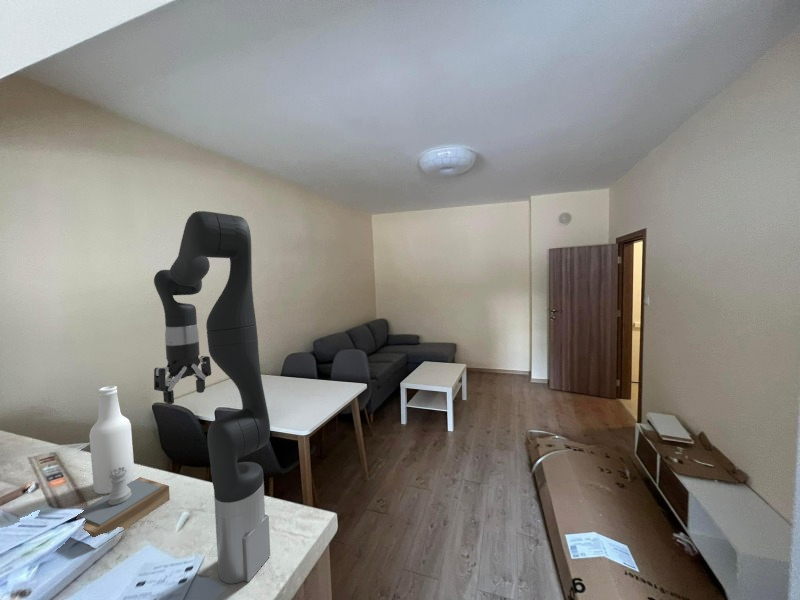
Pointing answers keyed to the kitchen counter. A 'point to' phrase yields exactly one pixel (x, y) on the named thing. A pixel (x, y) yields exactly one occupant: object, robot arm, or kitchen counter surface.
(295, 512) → the kitchen counter surface
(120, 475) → the rook chess piece
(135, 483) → the slate mat
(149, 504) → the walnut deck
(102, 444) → the alcohol
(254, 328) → the robot arm
